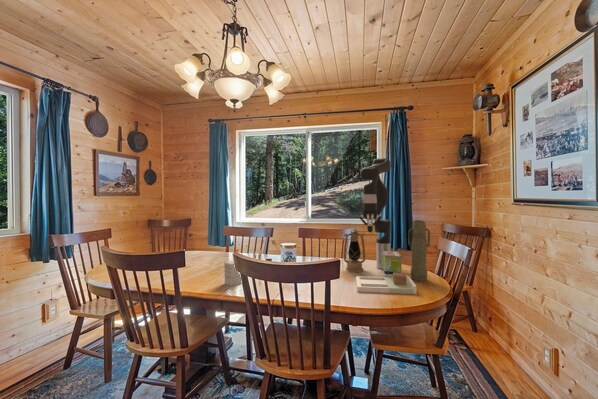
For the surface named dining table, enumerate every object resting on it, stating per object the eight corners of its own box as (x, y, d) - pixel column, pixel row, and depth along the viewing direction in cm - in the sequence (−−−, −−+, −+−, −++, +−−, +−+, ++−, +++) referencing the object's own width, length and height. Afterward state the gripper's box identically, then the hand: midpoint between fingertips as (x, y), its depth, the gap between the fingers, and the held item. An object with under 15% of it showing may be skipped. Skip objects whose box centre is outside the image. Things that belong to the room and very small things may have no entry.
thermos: (406, 277, 181) (406, 220, 180) (427, 277, 179) (427, 220, 179) (410, 281, 172) (410, 221, 172) (431, 282, 170) (431, 221, 170)
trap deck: (355, 280, 175) (355, 273, 174) (408, 282, 170) (408, 275, 170) (357, 291, 155) (357, 283, 155) (416, 294, 150) (416, 286, 150)
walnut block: (393, 281, 164) (393, 272, 164) (404, 282, 163) (404, 272, 163) (394, 284, 158) (394, 275, 158) (406, 285, 157) (406, 275, 157)
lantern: (344, 271, 195) (344, 226, 194) (343, 267, 207) (342, 224, 206) (366, 272, 194) (366, 226, 193) (364, 267, 206) (364, 224, 205)
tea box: (401, 280, 174) (401, 255, 173) (384, 279, 176) (384, 255, 175) (398, 274, 188) (398, 250, 188) (382, 273, 190) (382, 250, 190)
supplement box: (235, 281, 176) (235, 259, 175) (242, 283, 170) (242, 261, 170) (224, 283, 170) (223, 261, 170) (231, 286, 165) (230, 263, 165)
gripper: (380, 202, 173) (381, 231, 174) (357, 202, 175) (358, 231, 176) (382, 202, 166) (382, 233, 166) (358, 202, 168) (358, 233, 168)
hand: (370, 232), depth 171 cm, fingers closed
